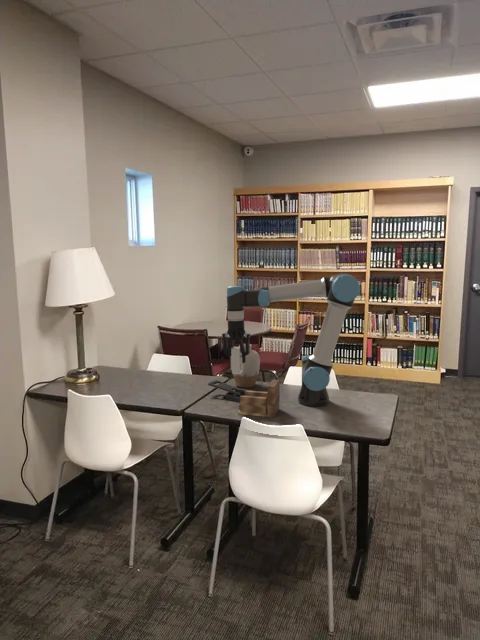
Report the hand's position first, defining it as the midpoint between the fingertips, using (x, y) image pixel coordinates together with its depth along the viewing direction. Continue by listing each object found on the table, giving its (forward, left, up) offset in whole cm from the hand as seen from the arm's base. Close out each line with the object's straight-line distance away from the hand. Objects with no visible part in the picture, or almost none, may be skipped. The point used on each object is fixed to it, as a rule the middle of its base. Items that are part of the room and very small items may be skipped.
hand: (237, 369), depth 221 cm
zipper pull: (+8, -16, -19) cm, 27 cm away
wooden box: (-10, +1, -19) cm, 22 cm away
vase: (+7, -40, -19) cm, 45 cm away
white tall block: (0, 0, -2) cm, 2 cm away
